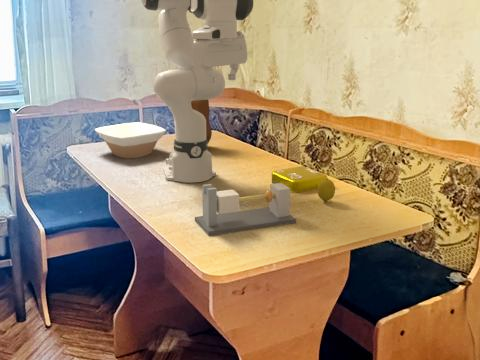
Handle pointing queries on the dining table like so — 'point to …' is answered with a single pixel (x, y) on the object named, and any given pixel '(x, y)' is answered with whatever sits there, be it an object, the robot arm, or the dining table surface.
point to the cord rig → (246, 212)
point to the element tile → (298, 178)
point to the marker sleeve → (227, 201)
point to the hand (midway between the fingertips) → (221, 81)
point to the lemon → (326, 189)
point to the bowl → (131, 138)
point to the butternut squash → (204, 109)
